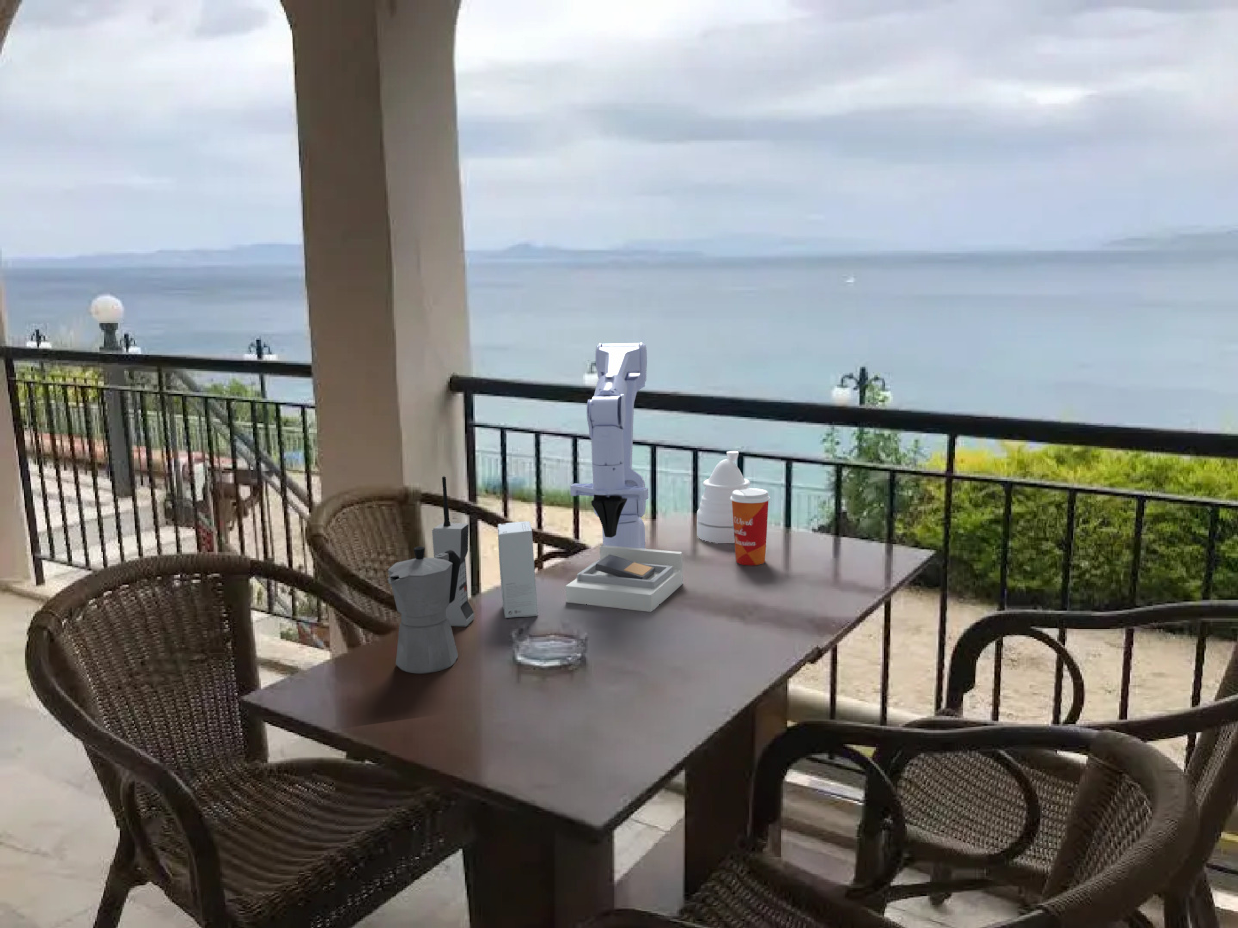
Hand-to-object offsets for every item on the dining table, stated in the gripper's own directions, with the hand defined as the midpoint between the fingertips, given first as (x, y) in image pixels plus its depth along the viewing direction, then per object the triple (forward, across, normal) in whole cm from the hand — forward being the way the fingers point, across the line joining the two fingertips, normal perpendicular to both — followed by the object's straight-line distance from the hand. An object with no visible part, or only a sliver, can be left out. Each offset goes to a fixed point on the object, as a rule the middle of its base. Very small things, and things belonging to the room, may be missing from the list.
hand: (610, 536), depth 183 cm
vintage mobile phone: (+10, -17, -26) cm, 33 cm away
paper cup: (+10, +20, +22) cm, 31 cm away
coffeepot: (+10, -12, -41) cm, 44 cm away
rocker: (+5, +4, -3) cm, 7 cm away
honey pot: (+10, +10, +39) cm, 41 cm away
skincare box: (+10, -10, -17) cm, 22 cm away
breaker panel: (+9, +4, -3) cm, 11 cm away
